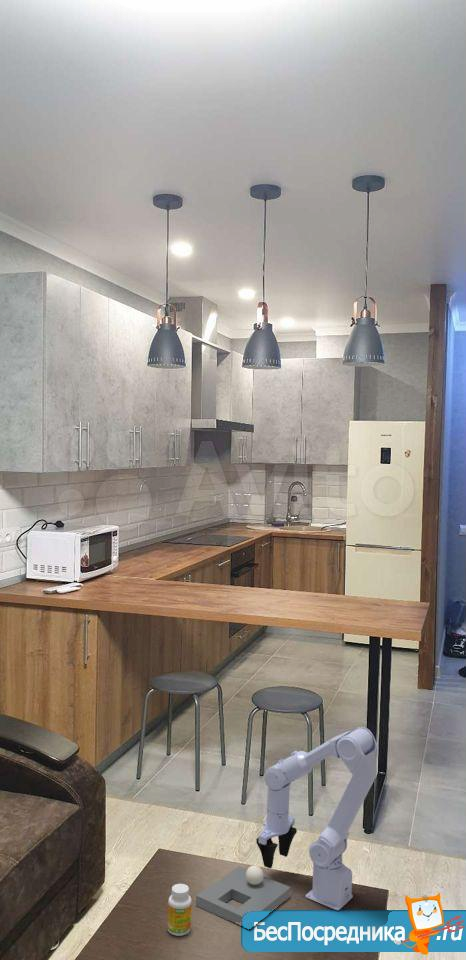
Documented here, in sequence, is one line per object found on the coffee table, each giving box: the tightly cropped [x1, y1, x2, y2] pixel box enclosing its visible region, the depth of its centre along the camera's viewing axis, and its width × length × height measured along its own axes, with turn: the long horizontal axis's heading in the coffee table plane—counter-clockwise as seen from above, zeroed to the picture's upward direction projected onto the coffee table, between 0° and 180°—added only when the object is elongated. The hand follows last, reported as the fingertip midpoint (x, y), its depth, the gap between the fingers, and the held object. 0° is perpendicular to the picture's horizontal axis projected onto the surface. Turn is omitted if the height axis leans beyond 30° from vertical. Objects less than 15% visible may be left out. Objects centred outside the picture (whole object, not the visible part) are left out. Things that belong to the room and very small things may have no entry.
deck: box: [195, 866, 291, 923], centre depth 192 cm, size 16×18×2 cm
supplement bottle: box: [167, 883, 192, 937], centre depth 180 cm, size 5×5×10 cm
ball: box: [246, 865, 264, 885], centre depth 196 cm, size 4×4×4 cm
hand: (275, 860), depth 204 cm, fingers open, 7 cm apart
